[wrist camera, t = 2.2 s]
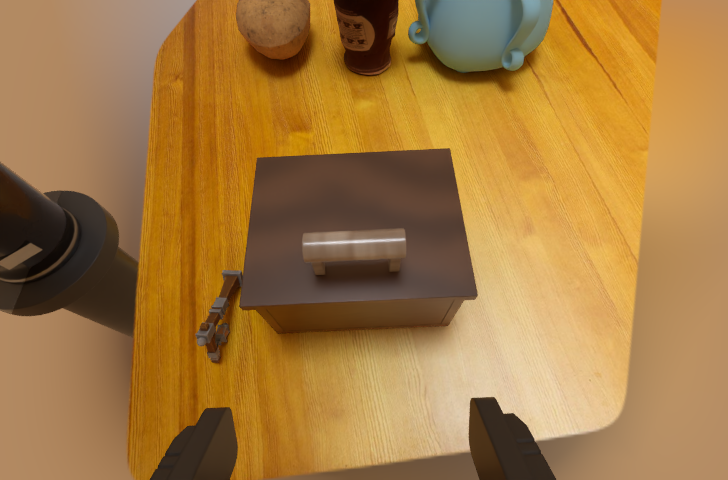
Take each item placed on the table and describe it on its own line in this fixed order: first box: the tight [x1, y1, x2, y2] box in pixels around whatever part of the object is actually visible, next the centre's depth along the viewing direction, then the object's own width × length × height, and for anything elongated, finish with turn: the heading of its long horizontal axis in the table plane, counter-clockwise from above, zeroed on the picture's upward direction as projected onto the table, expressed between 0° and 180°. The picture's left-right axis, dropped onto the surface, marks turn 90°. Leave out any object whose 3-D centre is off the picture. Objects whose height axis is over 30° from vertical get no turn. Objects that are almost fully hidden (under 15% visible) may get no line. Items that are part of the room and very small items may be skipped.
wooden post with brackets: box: [196, 270, 243, 363], centre depth 34 cm, size 2×8×4 cm, turn 177°
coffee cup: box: [334, 0, 398, 75], centre depth 46 cm, size 9×8×13 cm
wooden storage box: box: [256, 300, 464, 334], centre depth 33 cm, size 12×16×10 cm
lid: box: [239, 148, 478, 310], centre depth 26 cm, size 12×16×5 cm
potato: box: [236, 0, 310, 60], centre depth 50 cm, size 10×14×8 cm
